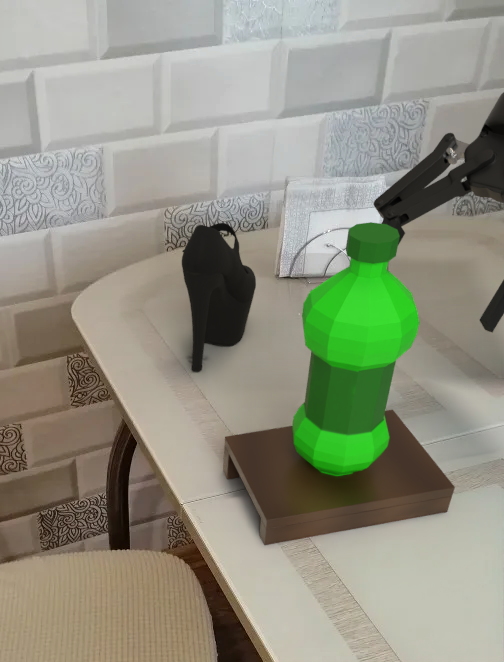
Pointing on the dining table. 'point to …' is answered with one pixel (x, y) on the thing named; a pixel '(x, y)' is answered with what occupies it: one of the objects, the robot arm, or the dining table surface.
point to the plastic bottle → (353, 354)
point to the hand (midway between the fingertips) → (422, 303)
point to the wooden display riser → (334, 484)
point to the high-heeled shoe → (216, 289)
